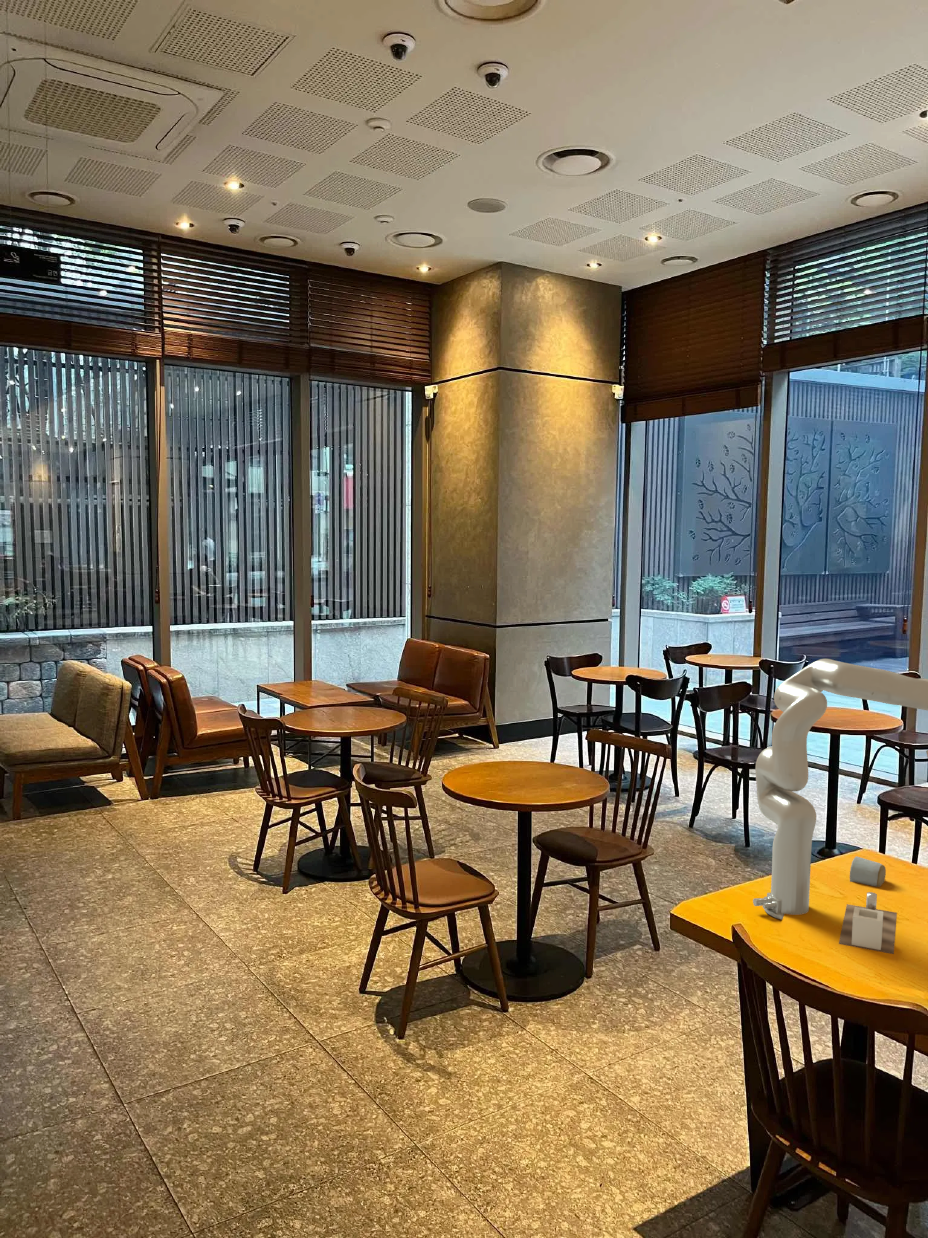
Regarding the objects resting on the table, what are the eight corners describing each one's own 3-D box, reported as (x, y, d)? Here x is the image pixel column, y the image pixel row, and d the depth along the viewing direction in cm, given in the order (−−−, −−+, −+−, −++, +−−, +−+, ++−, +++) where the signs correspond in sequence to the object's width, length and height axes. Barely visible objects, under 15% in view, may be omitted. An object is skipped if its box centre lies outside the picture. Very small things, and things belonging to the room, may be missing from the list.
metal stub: (869, 915, 240) (870, 896, 240) (863, 911, 243) (864, 892, 242) (877, 914, 241) (878, 895, 240) (872, 910, 243) (873, 892, 242)
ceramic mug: (879, 893, 258) (880, 866, 257) (848, 886, 263) (849, 860, 262) (888, 882, 266) (890, 856, 266) (858, 876, 271) (860, 850, 271)
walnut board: (893, 960, 219) (893, 954, 218) (838, 949, 224) (838, 943, 224) (896, 918, 242) (896, 912, 242) (846, 909, 247) (846, 904, 247)
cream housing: (880, 950, 220) (882, 921, 220) (851, 944, 223) (852, 916, 222) (881, 939, 226) (883, 911, 225) (853, 934, 229) (854, 906, 228)
